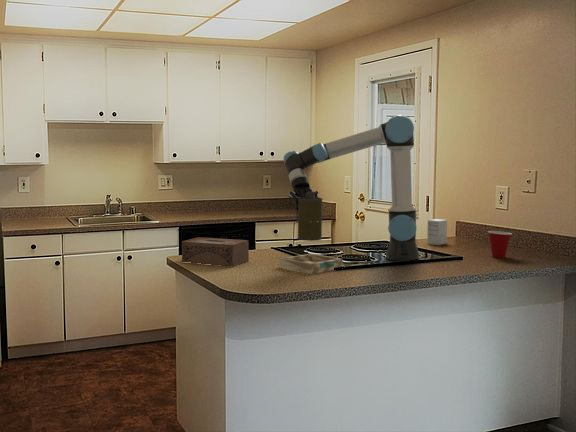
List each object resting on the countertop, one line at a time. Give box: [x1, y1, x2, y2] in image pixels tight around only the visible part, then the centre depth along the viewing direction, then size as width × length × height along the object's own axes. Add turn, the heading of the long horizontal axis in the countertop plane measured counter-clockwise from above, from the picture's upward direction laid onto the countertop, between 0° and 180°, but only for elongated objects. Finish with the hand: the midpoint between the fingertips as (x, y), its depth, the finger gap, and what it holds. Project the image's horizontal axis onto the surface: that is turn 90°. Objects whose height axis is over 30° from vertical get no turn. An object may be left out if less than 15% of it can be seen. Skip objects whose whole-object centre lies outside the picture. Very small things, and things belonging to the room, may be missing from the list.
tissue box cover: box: [181, 236, 250, 268], centre depth 311 cm, size 26×14×10 cm, turn 66°
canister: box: [295, 191, 323, 242], centre depth 296 cm, size 11×10×20 cm
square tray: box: [277, 253, 345, 275], centre depth 298 cm, size 20×20×4 cm
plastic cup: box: [487, 230, 513, 259], centre depth 324 cm, size 11×11×12 cm
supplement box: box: [426, 218, 448, 246], centre depth 365 cm, size 7×7×13 cm
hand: (313, 223), depth 292 cm, fingers closed on canister, 2 cm apart
